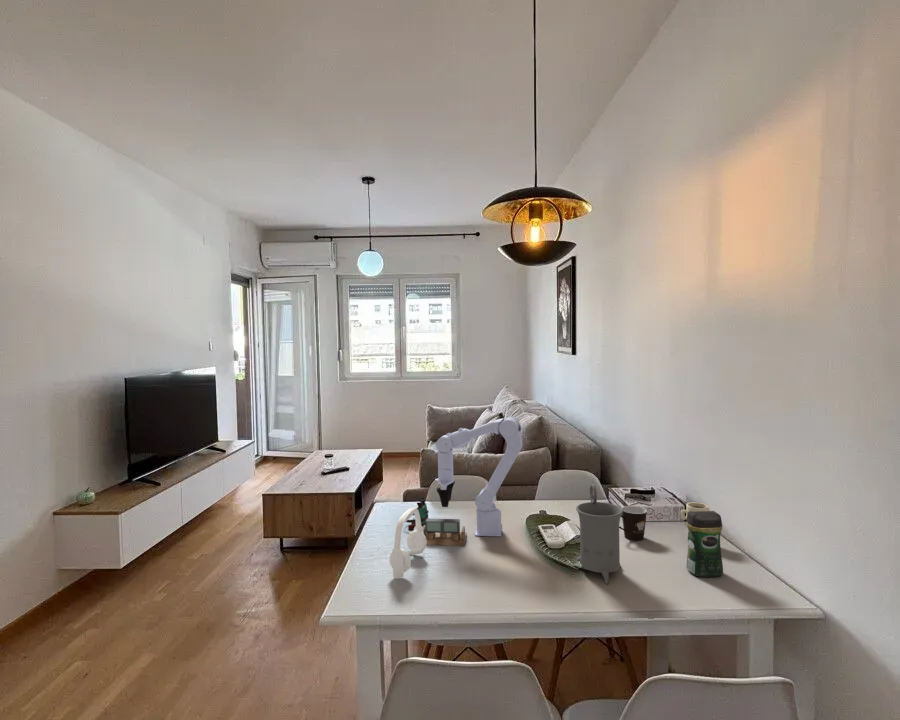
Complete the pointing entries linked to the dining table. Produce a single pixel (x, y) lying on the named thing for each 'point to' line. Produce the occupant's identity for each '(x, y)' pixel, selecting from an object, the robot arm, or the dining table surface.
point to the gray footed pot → (599, 535)
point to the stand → (445, 538)
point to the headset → (414, 541)
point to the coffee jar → (704, 543)
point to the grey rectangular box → (443, 525)
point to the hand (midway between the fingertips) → (446, 503)
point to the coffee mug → (634, 522)
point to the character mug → (693, 509)
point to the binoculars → (423, 514)
